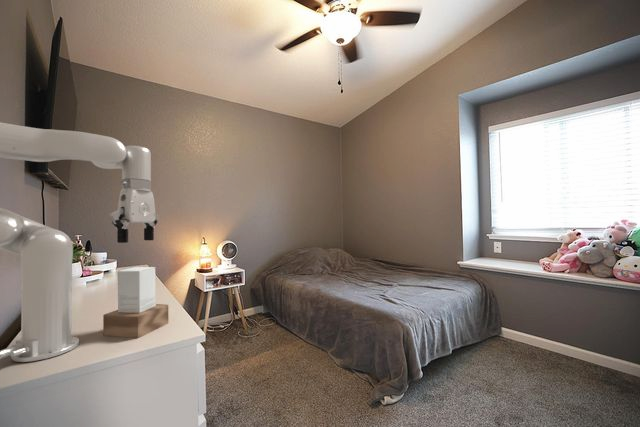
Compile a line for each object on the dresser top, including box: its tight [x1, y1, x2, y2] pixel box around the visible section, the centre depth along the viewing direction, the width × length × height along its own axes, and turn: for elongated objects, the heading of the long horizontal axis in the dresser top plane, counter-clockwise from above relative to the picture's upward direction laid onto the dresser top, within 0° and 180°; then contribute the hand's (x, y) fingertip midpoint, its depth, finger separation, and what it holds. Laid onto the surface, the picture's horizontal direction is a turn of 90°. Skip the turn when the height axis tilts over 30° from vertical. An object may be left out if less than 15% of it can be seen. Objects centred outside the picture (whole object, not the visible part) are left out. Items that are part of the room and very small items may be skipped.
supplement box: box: [117, 266, 157, 313], centre depth 89 cm, size 7×7×13 cm
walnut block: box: [102, 303, 169, 339], centre depth 89 cm, size 12×12×6 cm
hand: (136, 241), depth 89 cm, fingers open, 9 cm apart
